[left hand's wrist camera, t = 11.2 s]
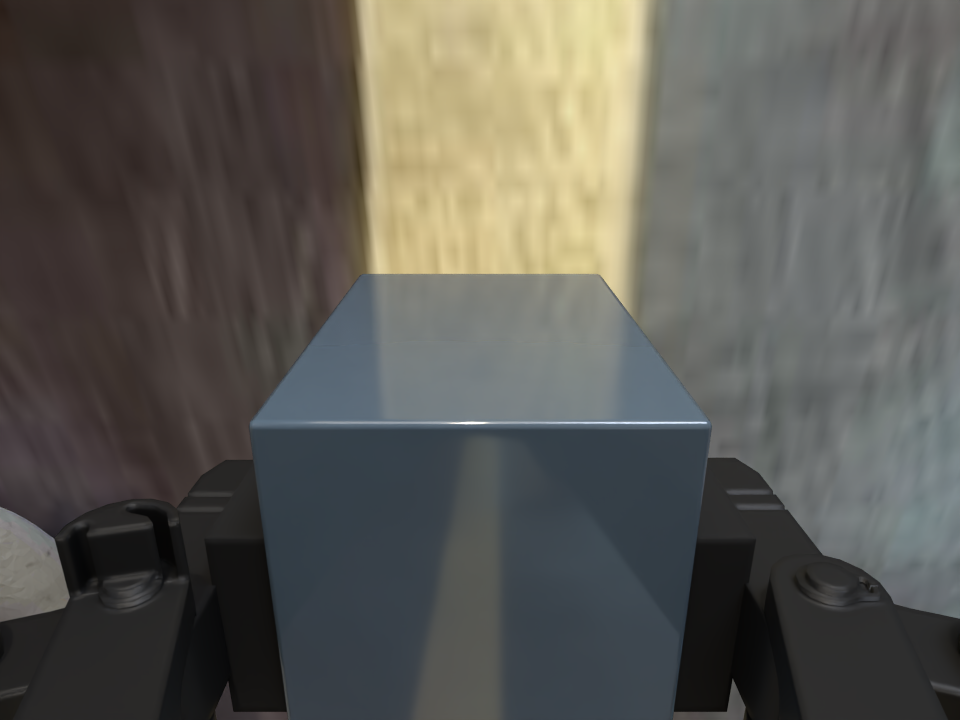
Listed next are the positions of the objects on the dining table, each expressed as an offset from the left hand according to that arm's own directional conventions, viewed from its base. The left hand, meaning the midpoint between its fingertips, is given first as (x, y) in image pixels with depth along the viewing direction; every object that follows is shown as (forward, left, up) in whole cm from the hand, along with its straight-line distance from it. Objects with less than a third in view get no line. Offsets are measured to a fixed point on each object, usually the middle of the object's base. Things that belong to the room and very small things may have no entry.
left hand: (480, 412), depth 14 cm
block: (0, 0, -1) cm, 1 cm away
